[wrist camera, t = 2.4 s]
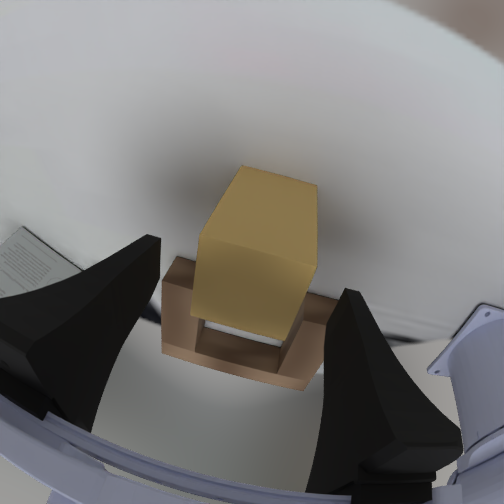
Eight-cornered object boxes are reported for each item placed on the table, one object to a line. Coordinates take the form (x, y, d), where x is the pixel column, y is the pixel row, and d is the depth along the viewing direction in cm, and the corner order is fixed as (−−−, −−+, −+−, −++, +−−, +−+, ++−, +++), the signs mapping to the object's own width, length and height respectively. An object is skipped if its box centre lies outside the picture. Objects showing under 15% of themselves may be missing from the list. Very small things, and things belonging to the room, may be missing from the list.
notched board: (341, 301, 20) (343, 329, 18) (305, 365, 24) (303, 391, 22) (176, 256, 20) (161, 280, 18) (172, 329, 25) (161, 353, 23)
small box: (20, 269, 25) (-58, 363, 15) (22, 223, 22) (-80, 327, 11) (82, 316, 27) (12, 426, 16) (93, 276, 23) (1, 408, 13)
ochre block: (316, 185, 16) (317, 266, 10) (296, 247, 18) (284, 341, 13) (241, 165, 16) (199, 234, 11) (228, 229, 19) (190, 315, 13)
